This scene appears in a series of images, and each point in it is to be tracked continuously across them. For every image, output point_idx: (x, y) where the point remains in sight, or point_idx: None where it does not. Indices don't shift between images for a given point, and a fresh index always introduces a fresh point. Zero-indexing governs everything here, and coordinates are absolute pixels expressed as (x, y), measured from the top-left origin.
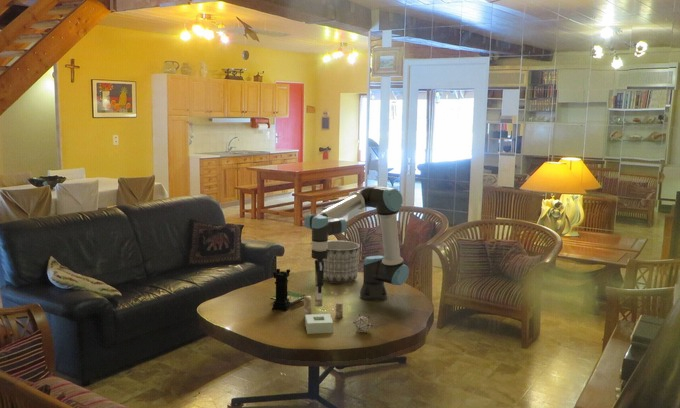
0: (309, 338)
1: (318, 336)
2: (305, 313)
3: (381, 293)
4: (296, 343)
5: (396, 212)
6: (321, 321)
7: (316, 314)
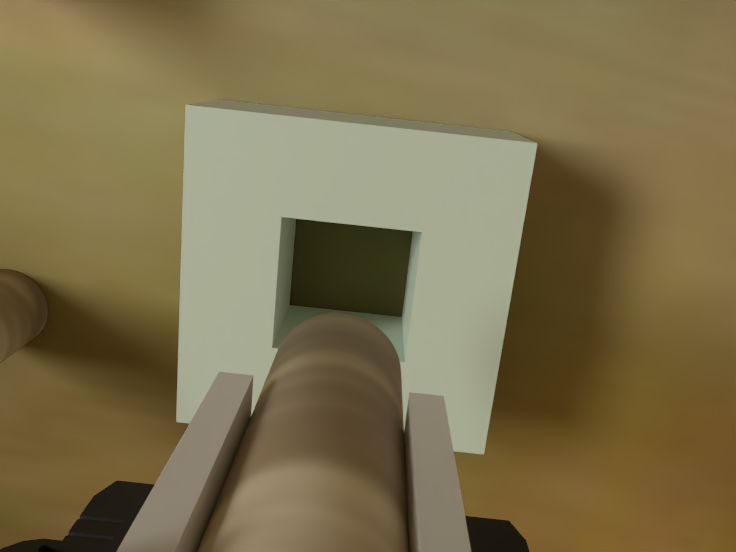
0: (593, 401)
1: (569, 307)
2: (5, 358)
3: None
4: (673, 531)
5: None
6: (458, 284)
7: (186, 288)
